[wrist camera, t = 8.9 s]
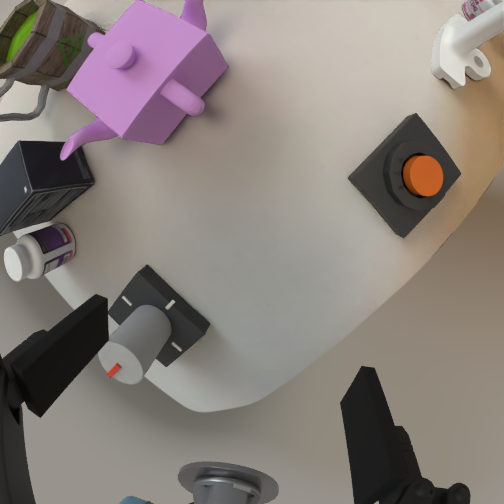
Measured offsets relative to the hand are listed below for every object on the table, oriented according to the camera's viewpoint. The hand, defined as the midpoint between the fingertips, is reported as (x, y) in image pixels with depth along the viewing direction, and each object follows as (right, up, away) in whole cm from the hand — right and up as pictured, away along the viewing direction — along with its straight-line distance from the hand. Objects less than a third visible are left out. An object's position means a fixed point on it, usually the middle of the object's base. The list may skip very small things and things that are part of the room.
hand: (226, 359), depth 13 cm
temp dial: (-10, -3, +18) cm, 21 cm away
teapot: (-7, +23, +13) cm, 27 cm away
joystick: (+26, +28, +7) cm, 39 cm away
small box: (-23, +14, +17) cm, 32 cm away
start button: (+17, +12, +9) cm, 23 cm away
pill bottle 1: (-24, +6, +19) cm, 32 cm away
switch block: (+17, +13, +13) cm, 25 cm away
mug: (-23, +29, +13) cm, 40 cm away
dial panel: (-10, -2, +20) cm, 23 cm away
